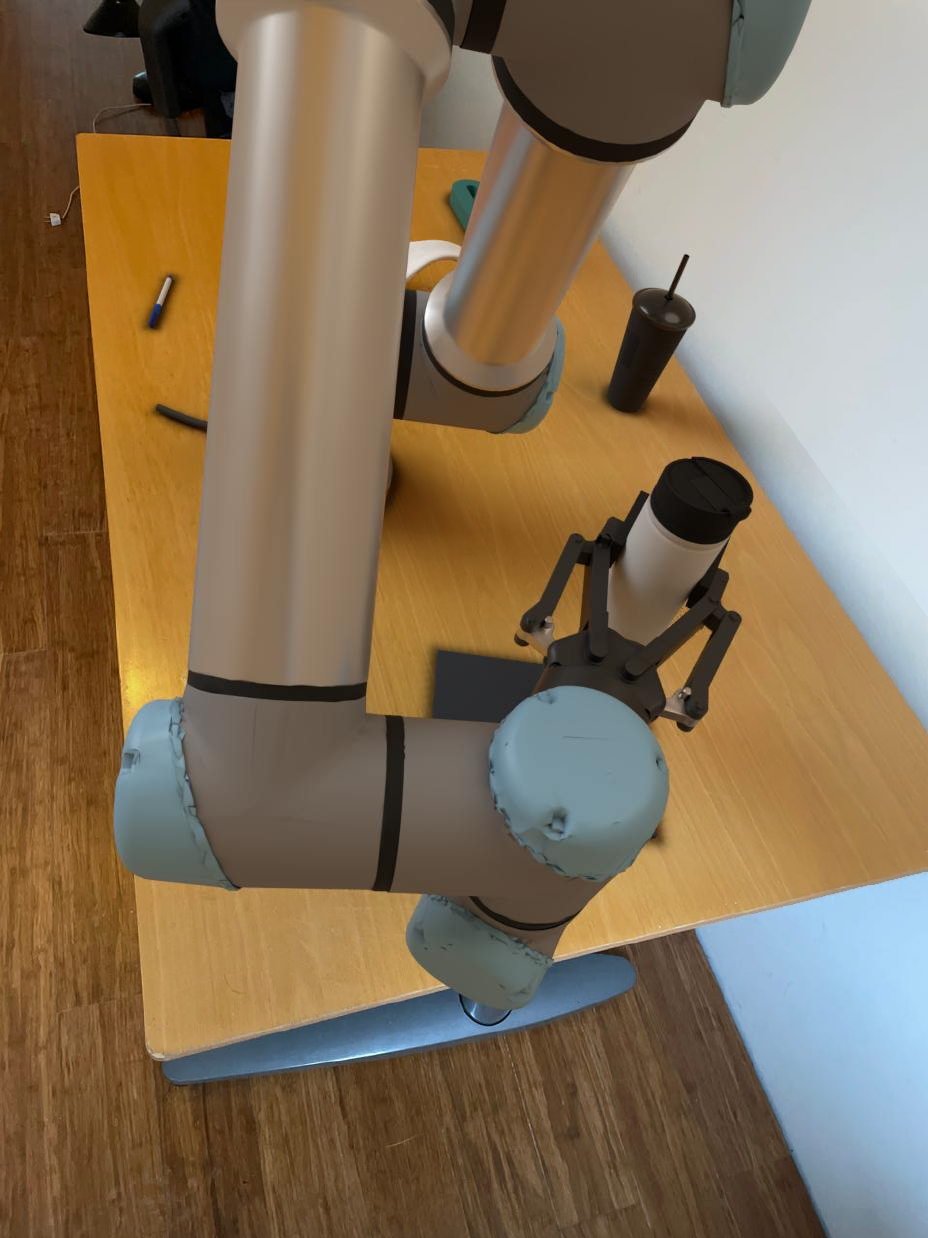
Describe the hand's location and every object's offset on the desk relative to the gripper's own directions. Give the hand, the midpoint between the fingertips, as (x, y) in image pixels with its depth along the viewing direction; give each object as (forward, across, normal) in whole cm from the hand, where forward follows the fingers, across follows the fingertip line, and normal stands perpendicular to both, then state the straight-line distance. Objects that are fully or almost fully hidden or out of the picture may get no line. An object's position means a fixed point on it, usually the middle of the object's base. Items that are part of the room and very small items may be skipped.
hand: (679, 523), depth 64 cm
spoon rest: (+39, -46, -20) cm, 63 cm away
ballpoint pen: (+18, -67, -20) cm, 72 cm away
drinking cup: (+40, -12, -20) cm, 46 cm away
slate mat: (-11, -2, -20) cm, 23 cm away
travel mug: (-5, 0, -11) cm, 12 cm away
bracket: (+65, -45, -20) cm, 81 cm away
